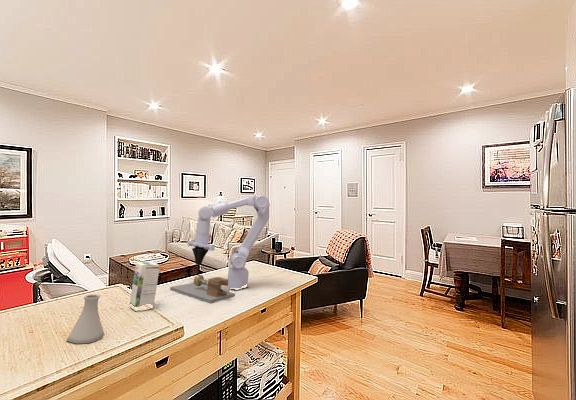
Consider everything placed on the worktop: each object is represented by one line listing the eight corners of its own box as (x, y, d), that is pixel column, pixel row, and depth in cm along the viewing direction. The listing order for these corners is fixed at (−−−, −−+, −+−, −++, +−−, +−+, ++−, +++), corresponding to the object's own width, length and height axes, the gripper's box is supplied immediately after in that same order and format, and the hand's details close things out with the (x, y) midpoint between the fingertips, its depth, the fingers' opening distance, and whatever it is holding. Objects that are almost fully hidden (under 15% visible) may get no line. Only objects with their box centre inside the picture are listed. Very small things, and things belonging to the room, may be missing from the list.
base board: (196, 284, 127) (196, 282, 127) (234, 296, 116) (235, 293, 116) (170, 289, 115) (170, 286, 115) (209, 303, 104) (210, 300, 104)
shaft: (201, 284, 119) (202, 274, 120) (231, 293, 111) (232, 282, 112) (192, 286, 116) (194, 275, 116) (223, 296, 107) (225, 284, 108)
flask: (79, 330, 72) (86, 290, 73) (109, 333, 73) (115, 293, 73) (59, 343, 65) (66, 298, 66) (92, 346, 65) (99, 301, 66)
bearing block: (217, 291, 116) (219, 276, 116) (226, 294, 113) (228, 279, 114) (206, 294, 111) (208, 278, 111) (216, 297, 108) (218, 281, 109)
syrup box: (128, 306, 92) (135, 261, 93) (147, 304, 96) (153, 261, 97) (134, 312, 88) (141, 265, 89) (154, 309, 92) (160, 264, 93)
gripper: (184, 231, 126) (179, 262, 125) (207, 235, 119) (203, 268, 118) (196, 231, 132) (192, 261, 131) (219, 235, 125) (215, 266, 124)
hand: (198, 264), depth 125 cm, fingers closed
